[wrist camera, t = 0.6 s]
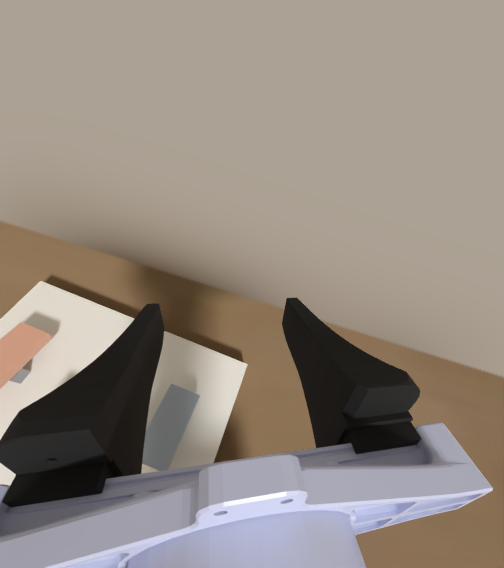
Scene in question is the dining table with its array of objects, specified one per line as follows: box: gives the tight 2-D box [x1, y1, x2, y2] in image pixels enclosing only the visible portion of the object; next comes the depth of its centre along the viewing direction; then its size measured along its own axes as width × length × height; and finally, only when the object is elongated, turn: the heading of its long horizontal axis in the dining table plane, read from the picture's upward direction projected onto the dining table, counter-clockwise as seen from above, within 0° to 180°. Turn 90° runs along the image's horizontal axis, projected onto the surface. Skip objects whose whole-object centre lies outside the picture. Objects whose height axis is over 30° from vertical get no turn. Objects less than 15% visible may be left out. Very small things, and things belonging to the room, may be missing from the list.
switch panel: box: [0, 281, 247, 485], centre depth 23 cm, size 18×26×3 cm
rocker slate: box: [141, 384, 200, 474], centre depth 21 cm, size 8×3×1 cm, turn 161°
